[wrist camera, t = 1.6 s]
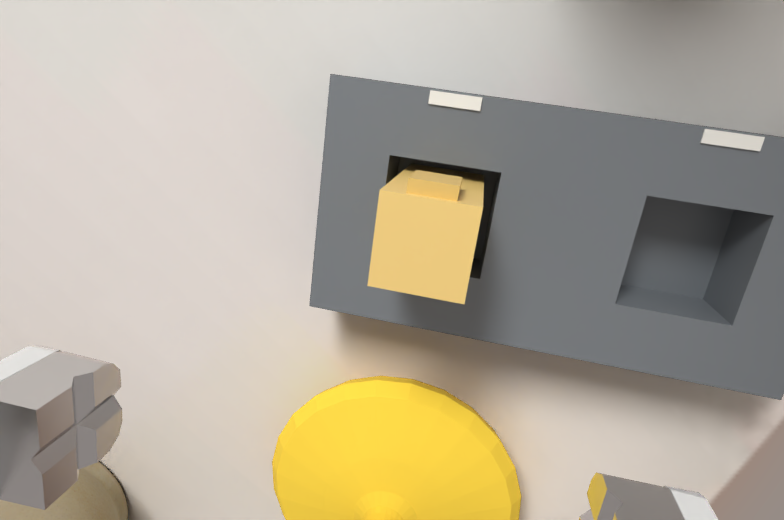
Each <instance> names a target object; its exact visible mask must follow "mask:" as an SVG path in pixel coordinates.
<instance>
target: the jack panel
mask: <svg viewBox="0 0 784 520" xmlns="http://www.w3.org/2000/svg"><path fill="white" fill-rule="evenodd" d="M410 164H418V165H424V166H431V167H437V168H443V169H449V170H456V171H462V172H468V173H475V174H481V175H484V198H483V211H482V216H481V221H480V226H479V231H478V237H477V242H476V247H475V252H474V257H473V262H472V268H471V273H470V278H469V283H468V288H467V293H466V298H465V304H459V303H454V302H449V301H444V300H439V299H433V298H428V297H423V296H418V295H412V294H407V293H402V292H397V291H392V290H386V289H381V288H376V287H371V286H367V285H368V277H369V269H370V261H371V254H372V246H373V238H374V230H375V222H376V214H377V206H378V199H379V191H380V189H381V188H383V187H384V186H385V185H386V184H387V183H389V182H390V181H391V180H392V179H393V178H395V177H396V176H397V175H398V174H399V173H401V172H402V171H403V170H404V169H406V168H407V167H408V166H409V165H410ZM310 306H312V307H317V308H322V309H327V310H332V311H337V312H342V313H347V314H352V315H357V316H362V317H367V318H372V319H377V320H382V321H387V322H392V323H397V324H402V325H407V326H412V327H417V328H422V329H427V330H432V331H437V332H442V333H447V334H452V335H457V336H462V337H467V338H472V339H477V340H482V341H487V342H492V343H497V344H502V345H507V346H512V347H517V348H523V349H528V350H533V351H538V352H543V353H548V354H553V355H558V356H563V357H568V358H573V359H578V360H583V361H588V362H593V363H598V364H603V365H608V366H613V367H618V368H623V369H628V370H633V371H638V372H643V373H648V374H653V375H658V376H663V377H668V378H673V379H678V380H683V381H688V382H693V383H698V384H703V385H708V386H713V387H718V388H723V389H728V390H733V391H738V392H743V393H748V394H753V395H758V396H763V397H768V398H773V399H778V400H781V399H782V396H783V394H784V137H778V136H771V135H764V134H757V133H750V132H743V131H735V130H728V129H721V128H714V127H707V126H700V125H692V124H685V123H678V122H671V121H664V120H657V119H650V118H642V117H635V116H628V115H621V114H614V113H607V112H600V111H592V110H585V109H578V108H571V107H564V106H557V105H550V104H542V103H535V102H528V101H521V100H514V99H507V98H500V97H492V96H485V95H478V94H471V93H464V92H457V91H450V90H442V89H435V88H428V87H421V86H414V85H407V84H400V83H392V82H385V81H378V80H371V79H364V78H357V77H350V76H342V75H335V74H330V85H329V96H328V107H327V118H326V129H325V140H324V151H323V162H322V173H321V185H320V196H319V207H318V218H317V229H316V240H315V251H314V262H313V273H312V284H311V295H310Z"/></svg>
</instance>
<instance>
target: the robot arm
mask: <svg viewBox="0 0 784 520" xmlns="http://www.w3.org/2000/svg"><path fill="white" fill-rule="evenodd" d="M120 388H121V376H120V369H119V368H118V367H116V366H115V365H114V364H113V363H109V362H105V361H101V360H97V359H93V358H89V357H85V356H81V355H77V354H73V353H69V352H62V351H60V350H56V349H52V348H47V347H43V346H28V347H26V348H24V349H22V350H20V351H18V352H16V353H14V354H12V355H10V356H8V357H6V358H4V359H2V360H0V500H4V501H8V502H12V503H17V504H21V505H25V506H29V507H34V508H38V509H42V510H46V509H47V508H48V507H49V506H50V505H51V504H52V503H53V502H55V501H56V500H57V499H58V498H59V497H60V496H61V495H62V494H63V493H64V492H66V491H67V490H68V489H69V488H70V487H71V486H72V485H73V484H74V483H75V482H77V481H78V474H79V469H81V468H84V467H87V466H89V465H92V464H94V463H97V462H98V461H99V460H100V459H102V458H103V457H104V456H105V455H106V454H107V453H108V452H109V451H110V449H111V448H112V446H113V444H114V442H115V441H116V439H117V437H118V435H119V432H120V428H121V424H122V408H121V406H120V405H119V403H118V402H117V400H116V398H115V397H114V395H115V394H116V392H117V391H118V390H119V389H120ZM587 495H588V499H589V503H590V507H591V509H590V510H589V511H587V512H586V513H584V514H583V515H581V516H580V518H579V520H718V518H717V516H716V515H715V513H714V511H713V510H712V508H711V506H710V504H709V503H708V501H707V499H706V498H705V497H704V496H702V495H701V494H700V493H698V492H693V491H687V490H682V489H677V488H672V487H667V486H664V487H662V486H657V485H653V484H648V483H643V482H639V481H634V480H629V479H624V478H620V477H615V476H610V475H606V474H601V473H596V474H595V475H594V477H593V478H592V480H591V483H590V486H589V489H588V492H587Z"/></svg>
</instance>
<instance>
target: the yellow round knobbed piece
mask: <svg viewBox="0 0 784 520" xmlns="http://www.w3.org/2000/svg"><path fill="white" fill-rule="evenodd" d="M272 465H273V482H274V490H275V493H276V496H277V498H278V501H279V504H280V507H281V510H282V513H283V515H284V517H285V519H286V520H519V512H520V503H521V493H520V488H519V484H518V479H517V474H516V469H515V466H514V465H513V463H512V461H511V459H510V457H509V455H508V454H507V452H506V450H505V448H504V446H503V445H502V443H501V441H500V439H499V438H498V436H497V434H496V433H495V431H494V430H493V429H492V428H491V427H490V426H489V425H488V424H487V423H486V422H485V421H484V419H483V418H482V417H481V416H480V415H479V414H478V413H477V412H476V411H475V410H474V409H473V408H472V407H470V406H469V405H467V404H466V403H464V402H462V401H461V400H459V399H458V398H456V397H455V396H453V395H451V394H450V393H448V392H447V391H445V390H443V389H440V388H437V387H434V386H431V385H428V384H425V383H423V382H420V381H417V380H414V379H406V378H397V377H388V376H376V377H368V378H361V379H354V380H349V381H347V382H344V383H342V384H340V385H337V386H335V387H332V388H330V389H328V390H325V391H323V392H322V393H320V394H318V395H316V396H315V397H314V398H312V399H311V400H310V401H309V402H307V403H306V404H305V405H304V406H303V407H301V408H300V409H299V410H298V411H296V412H295V413H294V414H293V415H292V417H291V418H290V420H289V421H288V423H287V425H286V426H285V428H284V429H283V431H282V432H281V434H280V435H279V437H278V441H277V445H276V449H275V453H274V457H273V461H272Z"/></svg>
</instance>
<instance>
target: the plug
mask: <svg viewBox="0 0 784 520" xmlns="http://www.w3.org/2000/svg"><path fill="white" fill-rule="evenodd" d="M483 198H484V175H481V174H475V173H468V172H462V171H456V170H449V169H443V168H437V167H431V166H424V165H418V164H410V165H409V166H408V167H407V168H406V169H404V170H403V171H402V172H401V173H399V174H398V175H397V176H396V177H395V178H393V179H392V180H391V181H390V182H389V183H387V184H386V185H385V186H384V187H383V188H381V189H380V191H379V199H378V206H377V214H376V222H375V230H374V238H373V246H372V254H371V261H370V269H369V277H368V285H367V286H371V287H376V288H381V289H386V290H392V291H397V292H402V293H407V294H412V295H418V296H423V297H428V298H433V299H439V300H444V301H449V302H454V303H459V304H465V298H466V293H467V288H468V283H469V278H470V273H471V268H472V262H473V257H474V252H475V247H476V242H477V237H478V231H479V226H480V221H481V216H482V211H483Z"/></svg>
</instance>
